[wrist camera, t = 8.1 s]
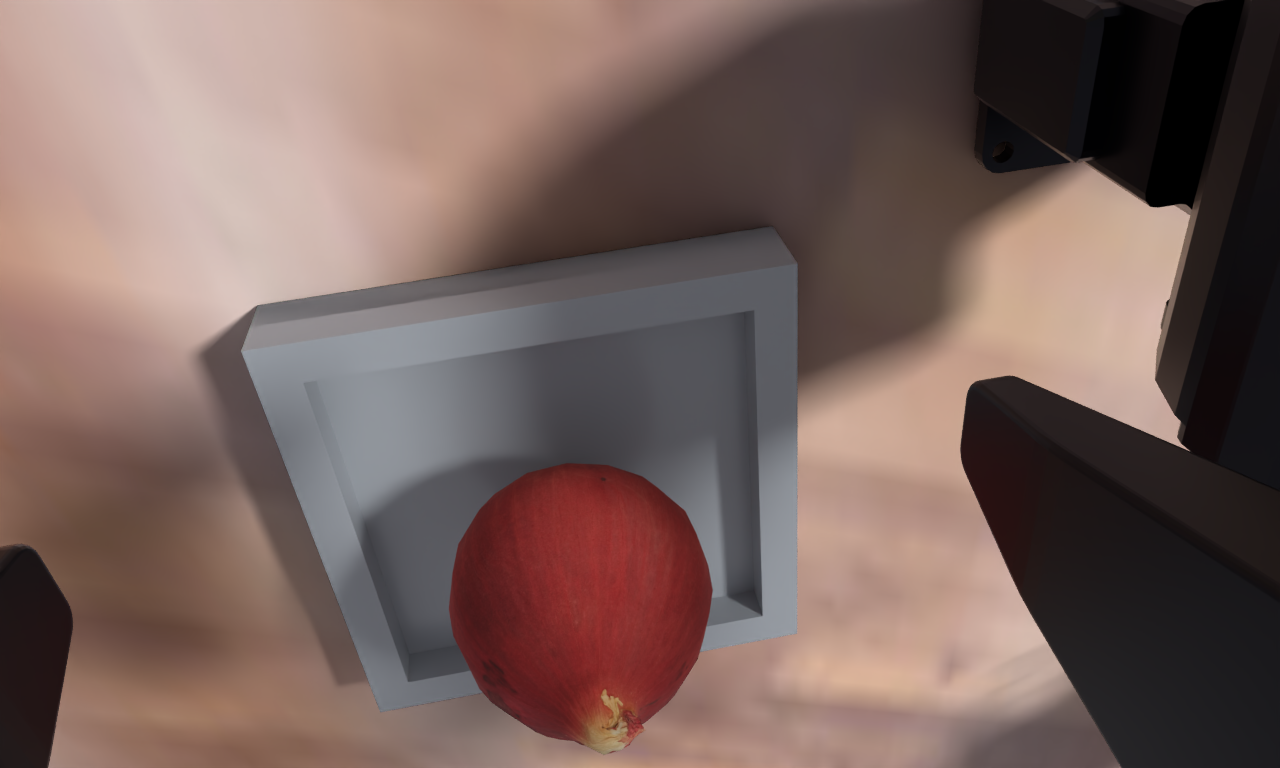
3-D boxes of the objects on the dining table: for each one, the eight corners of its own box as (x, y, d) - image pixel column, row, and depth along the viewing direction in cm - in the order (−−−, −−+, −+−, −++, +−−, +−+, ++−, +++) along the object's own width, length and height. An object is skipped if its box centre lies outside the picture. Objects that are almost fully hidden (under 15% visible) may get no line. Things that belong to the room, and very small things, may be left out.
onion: (610, 594, 27) (661, 863, 20) (414, 540, 25) (401, 823, 18) (714, 438, 25) (811, 687, 18) (508, 363, 22) (532, 615, 16)
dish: (772, 226, 23) (797, 263, 21) (777, 583, 29) (797, 633, 28) (257, 305, 22) (240, 351, 20) (384, 656, 28) (380, 712, 27)
